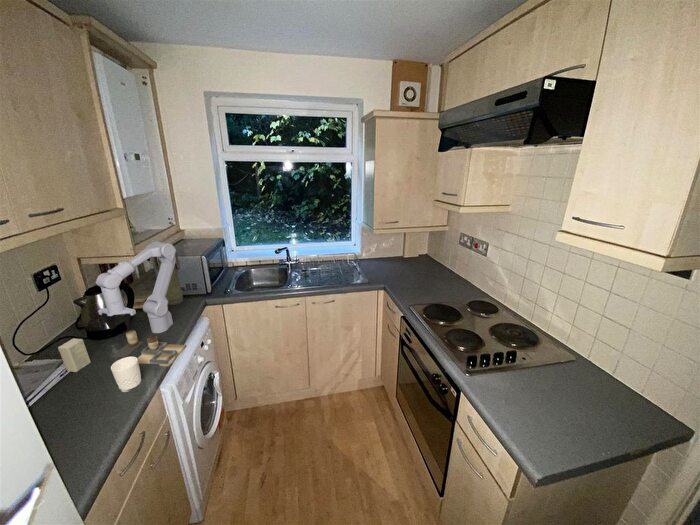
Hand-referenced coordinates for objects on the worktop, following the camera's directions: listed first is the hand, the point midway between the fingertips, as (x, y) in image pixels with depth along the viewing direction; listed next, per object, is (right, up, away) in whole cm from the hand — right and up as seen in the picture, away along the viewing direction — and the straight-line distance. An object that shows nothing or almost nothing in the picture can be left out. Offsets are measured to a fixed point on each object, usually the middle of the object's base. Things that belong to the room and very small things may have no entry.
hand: (122, 328), depth 127 cm
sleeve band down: (+2, -8, +4) cm, 9 cm away
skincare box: (-10, -14, -9) cm, 19 cm away
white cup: (+17, -17, -18) cm, 30 cm away
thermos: (-4, +6, +45) cm, 45 cm away
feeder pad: (+2, -10, +1) cm, 10 cm away
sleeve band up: (+14, -9, +1) cm, 17 cm away
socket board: (+18, -11, -1) cm, 21 cm away
